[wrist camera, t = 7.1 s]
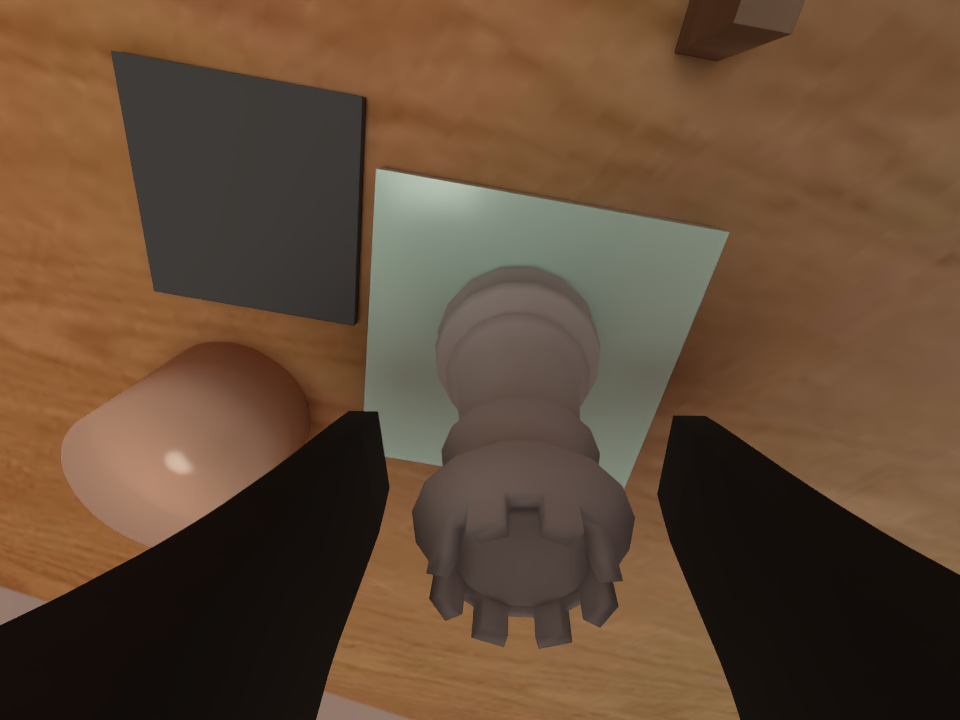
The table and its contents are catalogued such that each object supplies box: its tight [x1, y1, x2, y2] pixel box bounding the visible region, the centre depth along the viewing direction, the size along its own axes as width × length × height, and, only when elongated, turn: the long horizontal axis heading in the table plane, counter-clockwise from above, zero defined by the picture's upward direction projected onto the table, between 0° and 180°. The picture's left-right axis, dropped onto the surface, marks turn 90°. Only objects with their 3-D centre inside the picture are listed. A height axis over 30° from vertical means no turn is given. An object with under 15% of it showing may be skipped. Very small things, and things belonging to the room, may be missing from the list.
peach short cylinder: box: [61, 342, 311, 547], centre depth 14 cm, size 5×5×4 cm
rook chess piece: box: [412, 268, 635, 649], centre depth 9 cm, size 4×4×8 cm
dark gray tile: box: [111, 51, 366, 326], centre depth 12 cm, size 6×6×1 cm
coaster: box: [364, 167, 730, 489], centre depth 13 cm, size 9×9×1 cm
